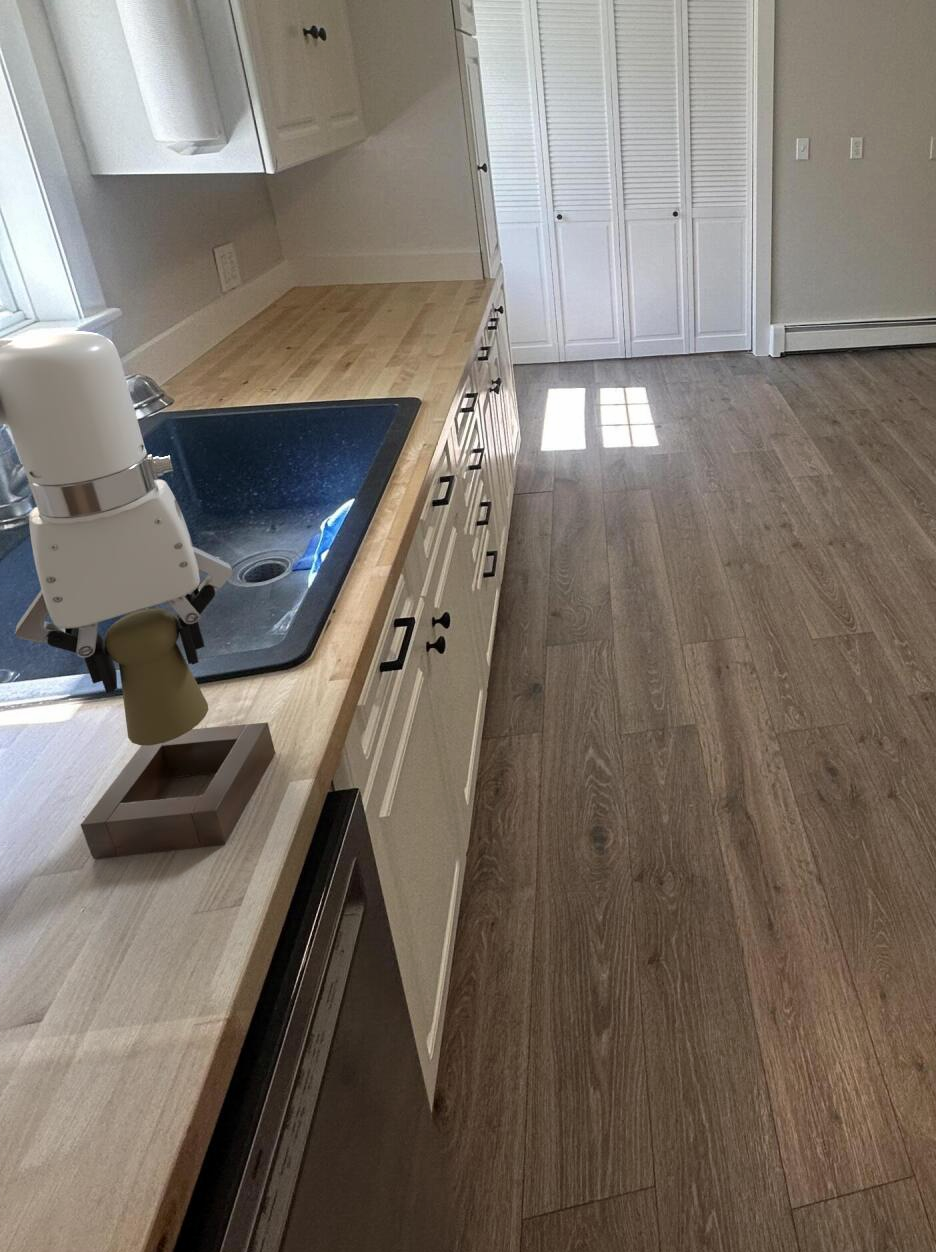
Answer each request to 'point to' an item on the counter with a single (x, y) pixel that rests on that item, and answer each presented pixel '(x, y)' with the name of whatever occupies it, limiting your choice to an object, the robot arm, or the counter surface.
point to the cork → (154, 677)
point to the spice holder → (154, 825)
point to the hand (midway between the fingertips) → (152, 668)
